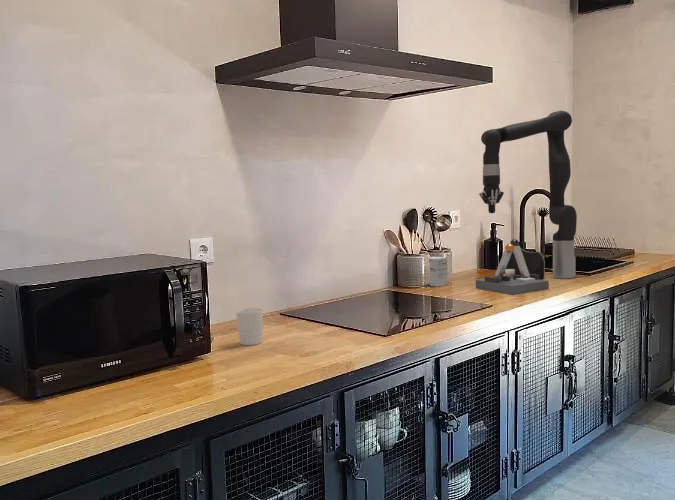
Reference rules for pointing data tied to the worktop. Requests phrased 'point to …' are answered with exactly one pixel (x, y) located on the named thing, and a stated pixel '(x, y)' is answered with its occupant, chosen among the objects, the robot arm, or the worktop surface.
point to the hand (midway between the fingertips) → (491, 213)
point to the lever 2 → (520, 258)
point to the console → (513, 284)
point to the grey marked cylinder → (438, 271)
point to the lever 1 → (504, 261)
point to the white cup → (250, 325)
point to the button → (510, 272)
